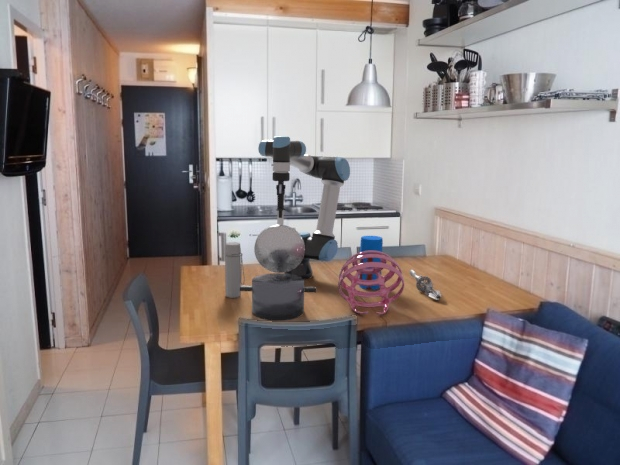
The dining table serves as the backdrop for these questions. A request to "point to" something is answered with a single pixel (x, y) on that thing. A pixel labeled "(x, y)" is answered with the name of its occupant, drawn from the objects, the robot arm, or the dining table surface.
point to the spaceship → (425, 285)
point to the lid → (279, 248)
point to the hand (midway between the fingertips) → (280, 224)
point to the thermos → (366, 245)
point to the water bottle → (233, 269)
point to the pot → (277, 296)
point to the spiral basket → (379, 281)
